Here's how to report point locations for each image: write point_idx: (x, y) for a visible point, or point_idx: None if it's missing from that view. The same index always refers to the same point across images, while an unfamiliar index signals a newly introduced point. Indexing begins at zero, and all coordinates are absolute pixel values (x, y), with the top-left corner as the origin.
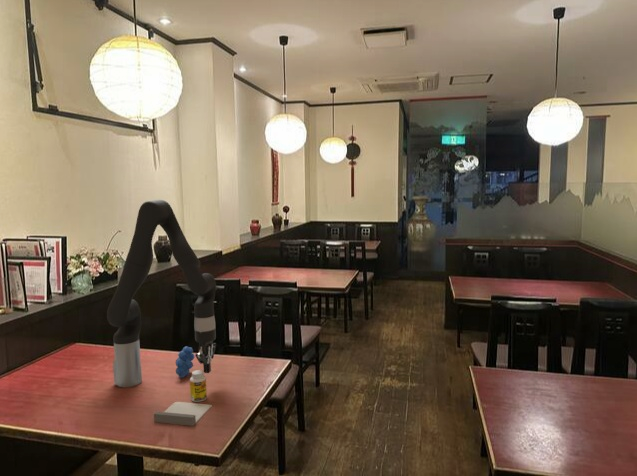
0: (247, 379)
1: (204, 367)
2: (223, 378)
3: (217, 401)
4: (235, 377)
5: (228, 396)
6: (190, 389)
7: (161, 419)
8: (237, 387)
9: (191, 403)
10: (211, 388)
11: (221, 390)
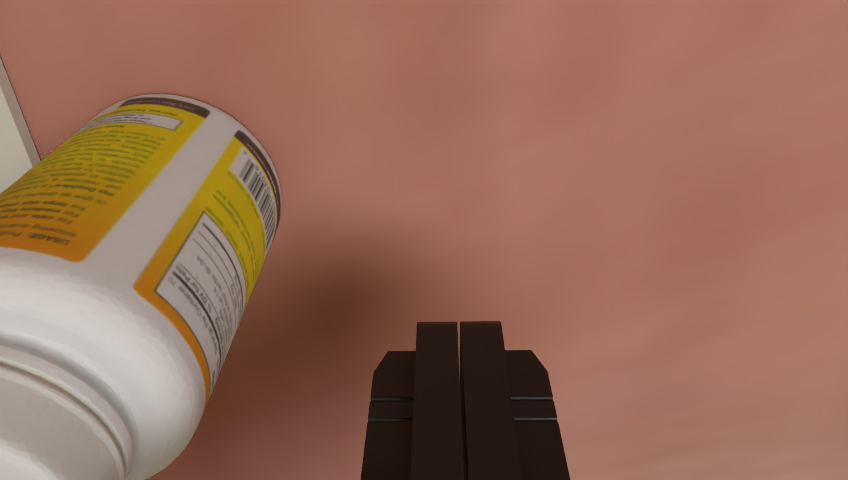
0: (757, 444)
1: (369, 454)
2: (827, 217)
3: (224, 371)
4: (835, 333)
5: (353, 416)
6: (17, 180)
7: None
8: (560, 423)
9: (24, 168)
10: (506, 197)
11: (469, 319)
